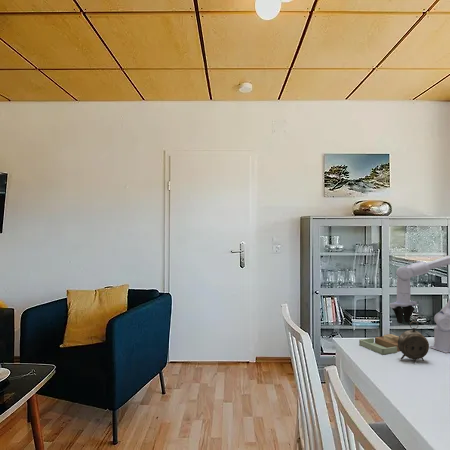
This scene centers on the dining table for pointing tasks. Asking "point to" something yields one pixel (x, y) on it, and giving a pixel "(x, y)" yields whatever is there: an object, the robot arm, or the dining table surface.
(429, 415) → the dining table surface
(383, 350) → the sage tray
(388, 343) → the walnut board
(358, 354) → the dining table surface
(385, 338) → the maple tile
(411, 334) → the alarm clock
